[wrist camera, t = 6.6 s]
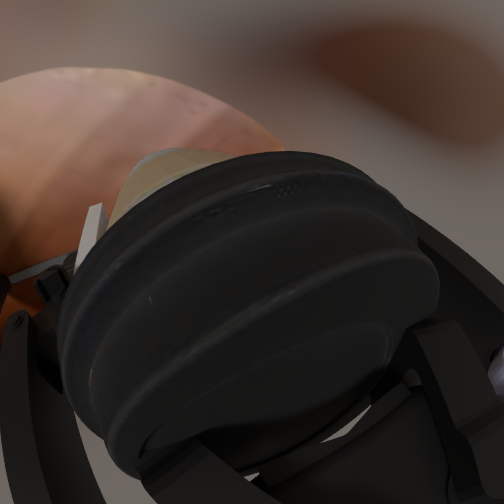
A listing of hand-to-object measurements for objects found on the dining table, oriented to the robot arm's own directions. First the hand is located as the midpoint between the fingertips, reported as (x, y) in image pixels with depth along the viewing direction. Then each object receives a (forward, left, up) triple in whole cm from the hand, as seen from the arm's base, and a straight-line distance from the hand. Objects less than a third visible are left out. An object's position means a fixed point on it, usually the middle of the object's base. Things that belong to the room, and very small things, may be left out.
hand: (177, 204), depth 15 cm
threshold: (-14, -7, -13) cm, 20 cm away
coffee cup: (0, 0, -2) cm, 2 cm away
